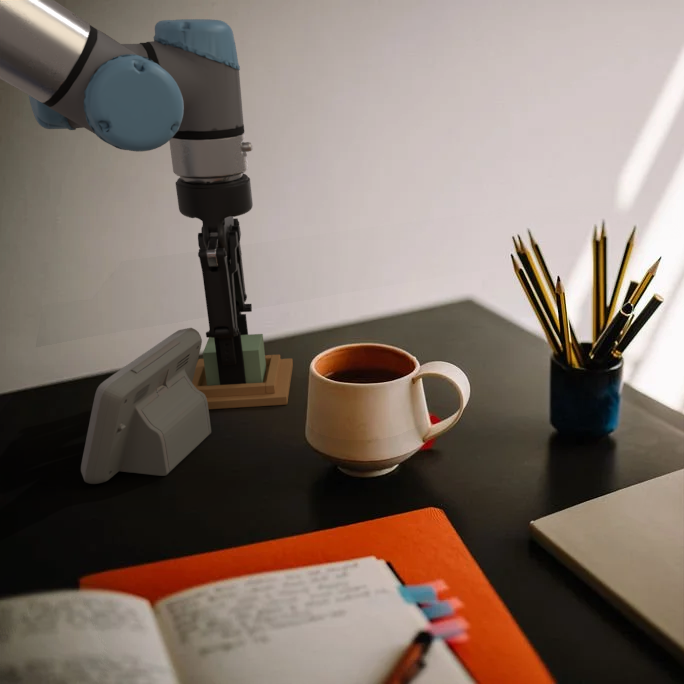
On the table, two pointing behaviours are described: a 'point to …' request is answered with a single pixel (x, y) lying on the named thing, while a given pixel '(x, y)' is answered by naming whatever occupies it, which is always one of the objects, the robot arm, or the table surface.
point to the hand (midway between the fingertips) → (236, 377)
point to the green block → (251, 356)
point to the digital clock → (148, 413)
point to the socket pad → (249, 387)
